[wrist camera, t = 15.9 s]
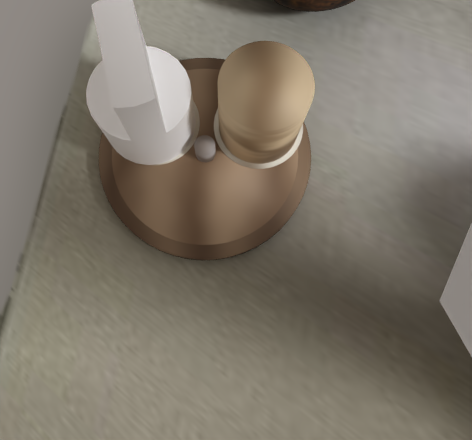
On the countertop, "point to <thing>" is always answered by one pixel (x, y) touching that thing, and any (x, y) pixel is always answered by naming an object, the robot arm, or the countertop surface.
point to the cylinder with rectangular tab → (138, 90)
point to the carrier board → (205, 186)
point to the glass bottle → (313, 4)
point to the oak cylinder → (263, 100)
